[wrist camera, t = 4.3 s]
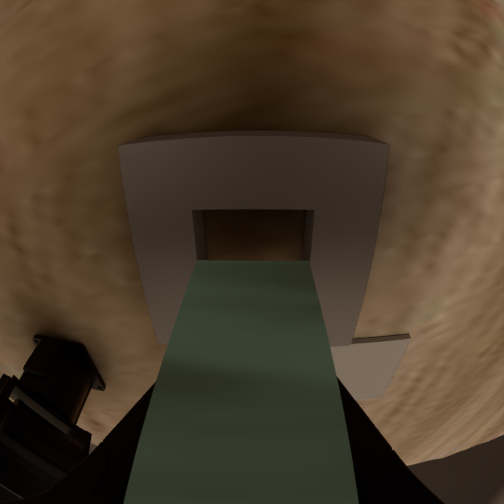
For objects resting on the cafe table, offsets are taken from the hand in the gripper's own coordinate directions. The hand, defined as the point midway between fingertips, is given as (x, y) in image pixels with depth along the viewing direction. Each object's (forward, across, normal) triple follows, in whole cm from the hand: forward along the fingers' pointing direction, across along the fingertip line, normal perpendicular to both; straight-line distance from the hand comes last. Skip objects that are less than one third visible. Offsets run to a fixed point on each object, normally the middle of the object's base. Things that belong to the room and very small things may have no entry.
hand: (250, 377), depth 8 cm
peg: (+4, 0, 0) cm, 4 cm away
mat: (+9, -8, +12) cm, 17 cm away
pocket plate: (+9, 0, 0) cm, 9 cm away
